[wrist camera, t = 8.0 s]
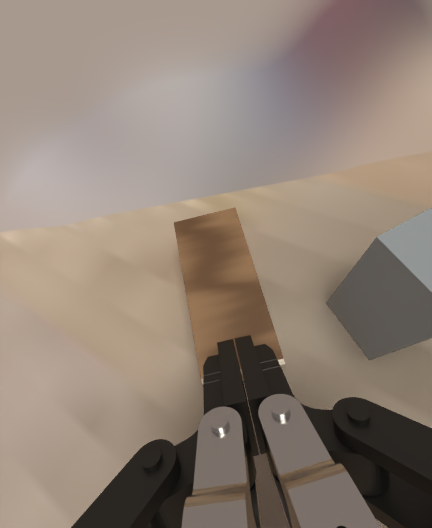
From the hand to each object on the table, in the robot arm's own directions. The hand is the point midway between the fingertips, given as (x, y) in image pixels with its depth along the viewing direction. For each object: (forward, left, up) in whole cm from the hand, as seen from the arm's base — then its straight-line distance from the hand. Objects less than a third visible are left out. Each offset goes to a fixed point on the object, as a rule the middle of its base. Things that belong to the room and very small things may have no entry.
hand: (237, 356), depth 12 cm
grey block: (-11, -2, -10) cm, 15 cm away
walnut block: (0, 0, -7) cm, 7 cm away
